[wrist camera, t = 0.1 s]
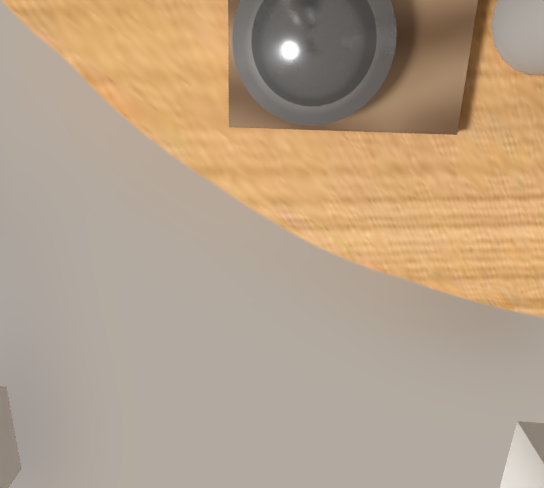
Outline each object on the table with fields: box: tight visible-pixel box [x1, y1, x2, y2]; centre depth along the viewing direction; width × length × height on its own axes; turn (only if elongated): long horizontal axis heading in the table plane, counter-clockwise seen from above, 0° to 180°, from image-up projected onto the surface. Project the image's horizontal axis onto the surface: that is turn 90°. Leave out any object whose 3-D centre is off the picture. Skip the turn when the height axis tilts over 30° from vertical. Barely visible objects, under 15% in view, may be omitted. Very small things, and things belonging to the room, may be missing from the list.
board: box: [228, 0, 478, 135], centre depth 34 cm, size 15×17×1 cm
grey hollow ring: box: [232, 0, 397, 125], centre depth 33 cm, size 11×11×2 cm
